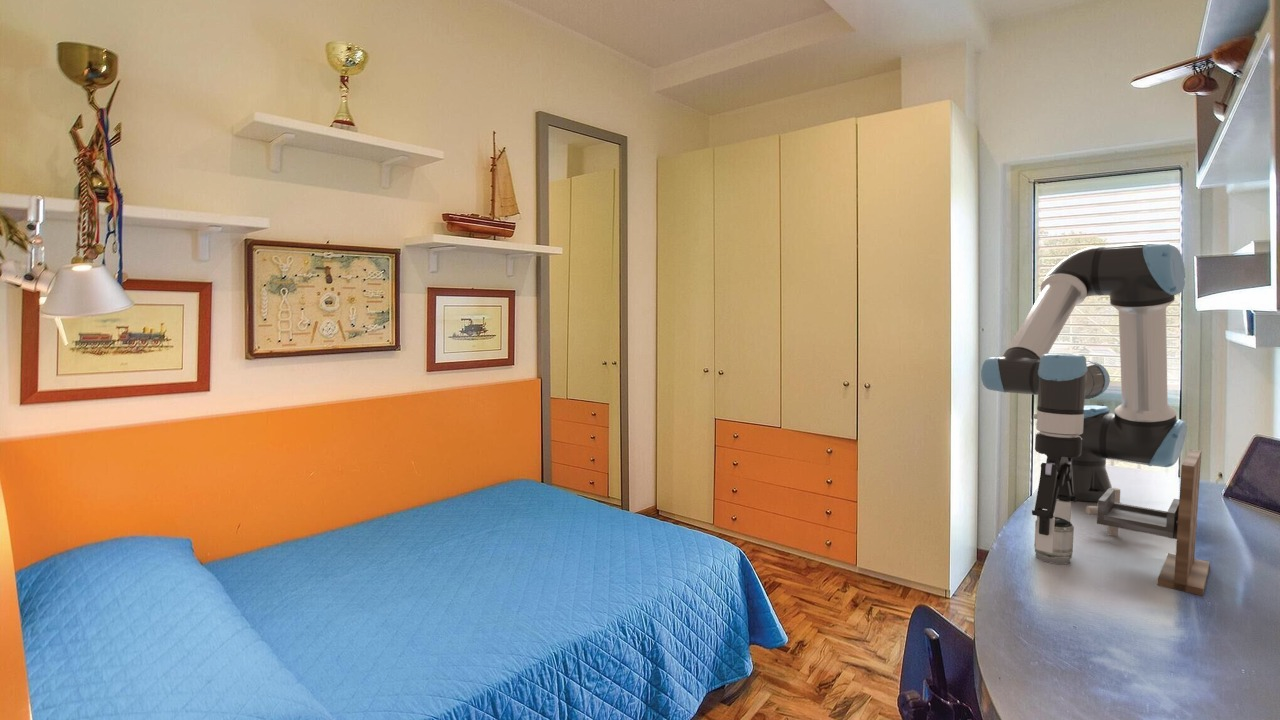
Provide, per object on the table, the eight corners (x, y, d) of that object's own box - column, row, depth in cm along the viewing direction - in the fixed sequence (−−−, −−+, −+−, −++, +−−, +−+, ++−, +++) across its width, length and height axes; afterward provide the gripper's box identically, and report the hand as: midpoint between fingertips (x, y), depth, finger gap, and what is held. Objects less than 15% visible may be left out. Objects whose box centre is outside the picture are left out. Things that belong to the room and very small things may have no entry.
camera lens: (1026, 552, 126) (1028, 514, 125) (1057, 552, 126) (1059, 513, 125) (1047, 565, 120) (1049, 525, 119) (1080, 564, 120) (1082, 524, 119)
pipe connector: (1152, 544, 130) (1155, 497, 129) (1098, 541, 132) (1101, 494, 131) (1125, 527, 139) (1128, 483, 139) (1075, 525, 141) (1077, 481, 141)
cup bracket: (1107, 546, 129) (1113, 440, 127) (1209, 567, 118) (1217, 452, 116) (1092, 569, 118) (1098, 453, 116) (1202, 595, 107) (1211, 468, 105)
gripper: (1051, 423, 132) (1046, 521, 134) (1018, 439, 115) (1012, 553, 116) (1095, 428, 127) (1089, 530, 129) (1067, 446, 109) (1060, 564, 111)
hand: (1053, 541), depth 122 cm, fingers open, 13 cm apart
